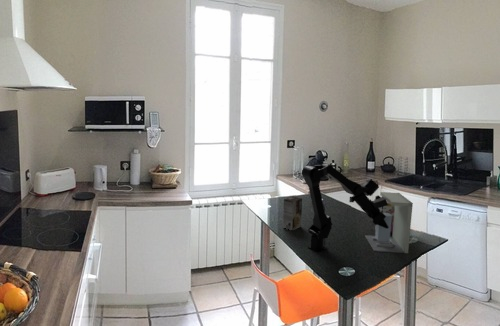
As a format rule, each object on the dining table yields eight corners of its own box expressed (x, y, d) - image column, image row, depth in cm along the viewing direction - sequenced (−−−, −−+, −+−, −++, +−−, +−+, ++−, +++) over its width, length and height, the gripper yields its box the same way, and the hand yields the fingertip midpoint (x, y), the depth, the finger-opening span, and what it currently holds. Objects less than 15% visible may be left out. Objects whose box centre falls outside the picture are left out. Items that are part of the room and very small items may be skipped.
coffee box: (291, 224, 205) (292, 196, 203) (301, 226, 201) (302, 198, 199) (282, 228, 198) (283, 199, 196) (292, 231, 194) (293, 201, 192)
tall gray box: (377, 240, 176) (379, 215, 174) (375, 237, 181) (377, 212, 179) (389, 241, 175) (391, 216, 174) (386, 237, 180) (388, 213, 179)
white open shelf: (374, 251, 169) (378, 201, 166) (365, 236, 189) (368, 191, 185) (408, 253, 168) (412, 203, 164) (395, 237, 188) (399, 192, 184)
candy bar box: (380, 233, 193) (382, 203, 191) (374, 230, 198) (376, 201, 196) (397, 232, 197) (400, 202, 194) (391, 229, 201) (394, 199, 199)
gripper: (382, 196, 166) (405, 221, 167) (373, 187, 184) (393, 210, 185) (363, 212, 168) (386, 237, 168) (355, 202, 186) (376, 224, 187)
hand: (386, 226), depth 177 cm, fingers closed on tall gray box, 5 cm apart
